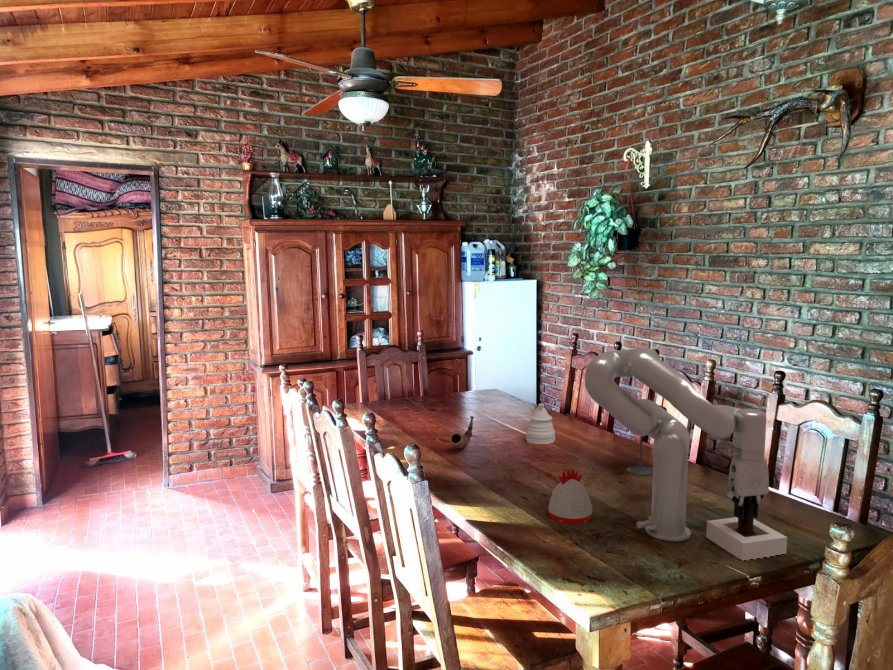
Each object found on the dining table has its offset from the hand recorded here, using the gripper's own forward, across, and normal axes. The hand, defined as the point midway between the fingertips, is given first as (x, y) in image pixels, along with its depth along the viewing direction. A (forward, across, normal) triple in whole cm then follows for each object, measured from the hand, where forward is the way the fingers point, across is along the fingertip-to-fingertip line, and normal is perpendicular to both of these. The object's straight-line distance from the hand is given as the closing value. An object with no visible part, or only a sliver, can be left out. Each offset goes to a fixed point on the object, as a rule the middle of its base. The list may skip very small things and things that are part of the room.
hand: (745, 516), depth 174 cm
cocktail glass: (+9, +6, +64) cm, 65 cm away
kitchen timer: (+9, -38, +33) cm, 51 cm away
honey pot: (+9, -16, +110) cm, 111 cm away
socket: (+9, 0, 0) cm, 9 cm away
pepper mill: (+7, 0, 0) cm, 7 cm away
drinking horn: (+9, -50, +115) cm, 126 cm away
